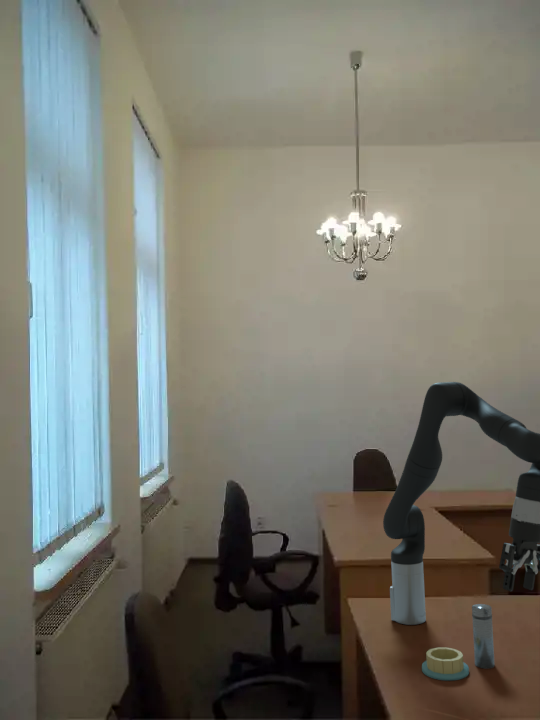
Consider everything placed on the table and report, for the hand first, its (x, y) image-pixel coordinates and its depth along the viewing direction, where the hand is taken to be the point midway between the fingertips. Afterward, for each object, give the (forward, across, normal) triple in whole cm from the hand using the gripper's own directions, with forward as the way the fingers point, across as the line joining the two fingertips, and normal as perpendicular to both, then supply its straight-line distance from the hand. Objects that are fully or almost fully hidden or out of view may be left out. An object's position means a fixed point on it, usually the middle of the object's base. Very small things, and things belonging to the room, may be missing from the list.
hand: (517, 589), depth 161 cm
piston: (+22, -7, -10) cm, 25 cm away
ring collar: (+24, +2, -14) cm, 28 cm away
